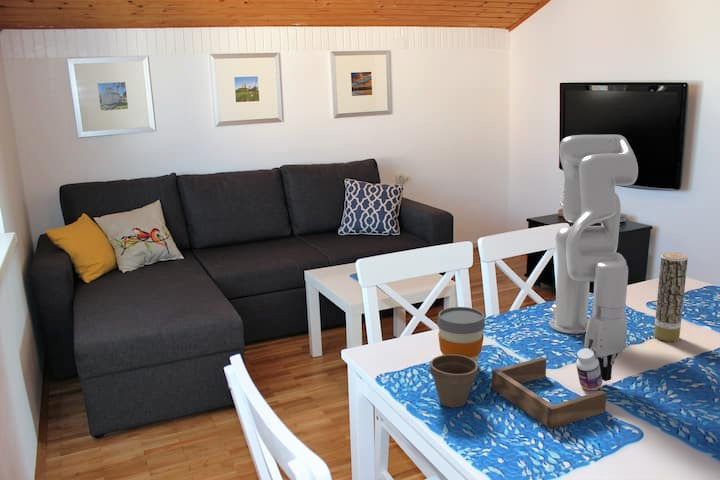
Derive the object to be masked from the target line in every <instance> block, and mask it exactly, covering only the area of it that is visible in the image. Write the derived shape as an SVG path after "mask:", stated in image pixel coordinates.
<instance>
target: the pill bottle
mask: <svg viewBox="0 0 720 480" xmlns="http://www.w3.org/2000/svg"><path fill="white" fill-rule="evenodd" d="M576 353H577V354H576V356H577V359H576V362H575V364H576V365H575V366H576V369H577V376H578V381H579V385H580V386H581V388H582V389H584V390H587V391H596V390H598V389H599V388H601V387H602V386H603V380H602V376H601V371H600V365H599V361H598V359H597V358H596V357H595V354H594V351H593V350H591V349H588V348H584V347H583V348H582V349H579V350H578V352H576Z"/></svg>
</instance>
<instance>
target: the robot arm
mask: <svg viewBox="0 0 720 480" xmlns="http://www.w3.org/2000/svg"><path fill="white" fill-rule="evenodd" d="M558 150H559V160H560V163H561V168H562V170H563V175H564V176H563V177H564V182H563V185H564V186H563V199H562V200H563V201H562V215H563V218H564V219H565V221H566V222H568V223H573V225H570V226H565V227H562V228H561V229H559V230H558V231H556V235H555V249H556V259H557V260H556V261H557V262H556V263H557V266H556V267H557V268H556V272H557V273H556V289H555V290H556V291H555V304H553V305H551V307H550V308H548V310H547V311H548V313H550V314H552V318H550V319H549V322H548V324H549V326H550V328H551V329H553V330H554V331H557V332H560V333H563V334H571V335H572V334H573V335H579V334H580V333H581V334H585V336H584V344H583V349H584V348H588V349H591V350H593V351H594V354H595V357H596V358H597V359H598V361H599V365H600V371H601V376H602V381H604V382H609V381H610V380H612V371H613V365H614V364H615V361H616V358H617V357H618V356H619V355H622V353H623V352H624V350H625V349H626V346H627V338H628V336H627V335H628V334H627V333H628V329H627V317H626V307H627V292H628V280H629V267H628V263H627V260H626V259H625V258H624V256H623V255H622V253H619V252H617V250H618V245H619V235H620V234H619V233H620V222H621V213H622V212H621V210H622V209H621V207H622V206H621V201H620V197H619V195H618V194H617V192H616V188H615V187H616V186H631V185H634V184H635V182H637V179H638V176H639V166H638V165H639V164H638V161H637V158H636V155H635V153H634V150H633V149H632V147H631V145H630V144H629V142H628V140H627V138H626V137H625V136H623V135H620V134H577V135H576V134H575V135H574V134H573V135H569V136H566V137H565V138H563V139H562V140H561V141H560V143H559V148H558ZM595 224H601V225H595ZM591 282H593V297H592V298H593V299H592V300H593V301H592V311H591V312H592V314H590V315H589V318H588V314H589V311H588V310H589V297H590V283H591ZM585 332H586V333H585Z"/></svg>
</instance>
